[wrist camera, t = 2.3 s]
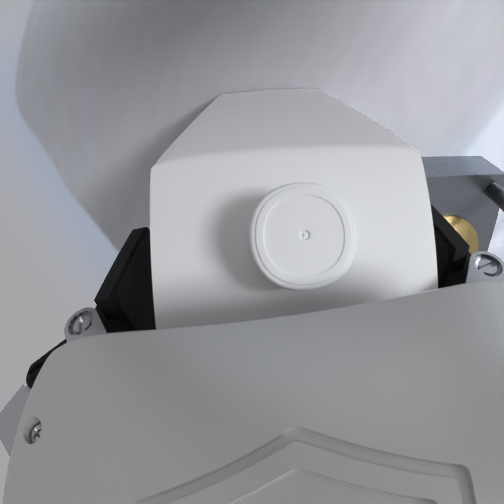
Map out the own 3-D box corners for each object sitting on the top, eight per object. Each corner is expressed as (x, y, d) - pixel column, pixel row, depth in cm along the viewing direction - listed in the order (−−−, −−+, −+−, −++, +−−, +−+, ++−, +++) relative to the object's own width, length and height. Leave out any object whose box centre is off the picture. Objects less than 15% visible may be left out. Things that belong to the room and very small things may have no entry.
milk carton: (318, 175, 23) (406, 413, 8) (230, 181, 23) (190, 431, 8) (316, 87, 19) (516, 232, 3) (218, 94, 19) (74, 263, 4)
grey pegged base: (351, 162, 22) (394, 220, 15) (481, 156, 20) (542, 203, 13) (348, 312, 33) (364, 379, 25) (449, 292, 31) (477, 348, 24)
